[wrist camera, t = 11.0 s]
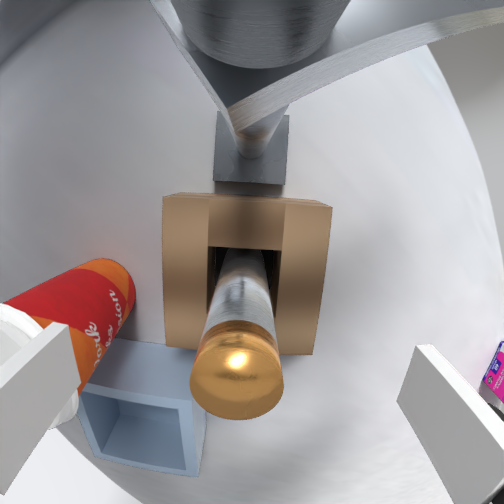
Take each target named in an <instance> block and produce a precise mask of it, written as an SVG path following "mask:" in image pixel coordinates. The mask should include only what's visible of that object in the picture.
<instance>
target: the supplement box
mask: <svg viewBox="0 0 504 504" xmlns="http://www.w3.org/2000/svg"><path fill="white" fill-rule="evenodd" d="M483 381H484V382H485V383H486V384H487V385H488V386H489V388H490V389H491V390H492V391H493V392H494V393H495V394H496V395H497V396H498V398H499V399H500V400H501V401H502V402H503V403H504V341H501V343H500V345H499V348H498V350H497V352H496V354H495V357H494V359H493V361H492V363H491V365H490V367H489V369H488V370H487V372H486V374H485V376H484V378H483Z"/></svg>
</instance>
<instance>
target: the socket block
mask: <svg viewBox="0 0 504 504" xmlns="http://www.w3.org/2000/svg"><path fill="white" fill-rule="evenodd" d="M332 208H333V207H331V206H328V205H326V204H323V203H320V202H318V201H315V200H304V199H291V198H278V197H264V196H248V195H230V194H209V193H182V192H181V193H177V194H173V195H169V196H165V197H163V211H162V269H163V301H164V321H165V337H166V347H174V348H184V349H194V350H198V347H199V343H200V340H201V336H202V333H203V329H204V326H205V322H206V319H207V315H208V312H209V309H210V305H211V302H212V298H213V295H214V292H215V288H216V287H215V257H216V247H231V248H248V249H265V250H274V257H273V268H272V280H271V290H269V294H270V300H271V307H272V313H273V319H274V325H275V332H276V338H277V344H278V351H279V355H312V353H313V347H314V342H315V336H316V330H317V324H318V318H319V312H320V305H321V298H322V292H323V284H324V277H325V270H326V262H327V254H328V245H329V237H330V228H331V218H332Z"/></svg>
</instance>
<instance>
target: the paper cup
mask: <svg viewBox="0 0 504 504" xmlns="http://www.w3.org/2000/svg"><path fill="white" fill-rule="evenodd" d="M135 298H136V292H135V286H134V283H133V280H132V278H131V276H130V275H129V273H128V272H127V271H126V269H125V268H124V267H122V266H121V265H120V264H119V263H117V262H115V261H113V260H110V259H104V258H101V259H95V260H92V261H89V262H87V263H85V264H82V265H80V266H78V267H76V268H73V269H71V270H69V271H67V272H65V273H63V274H60V275H58V276H56V277H54V278H52V279H50V280H48V281H46V282H44V283H42V284H40V285H38V286H36V287H34V288H32V289H30V290H28V291H26V292H24V293H22V294H20V295H18V296H16V297H14V298H12V299H10V300H8V301H6V302H4V303H0V367H1V366H2V365H3V364H4V363H5V362H6V361H8V360H9V359H10V358H11V357H12V356H13V355H14V354H16V353H17V352H18V351H19V350H20V349H21V348H22V347H24V346H25V345H26V344H27V343H28V342H30V341H31V340H32V339H33V338H34V337H35V336H37V335H38V334H39V333H40V332H41V331H43V330H44V329H45V328H46V327H47V326H49V325H50V324H51V323H52V322H56V323H61V324H66V325H68V326H69V332H70V337H71V342H72V346H73V351H74V355H75V360H76V364H77V368H78V372H79V376H80V380H81V384H80V385H79V386H78V388H77V389H76V391H75V392H74V393H73V395H72V396H71V397H70V399H69V400H68V401H67V403H66V404H65V406H64V407H63V408H62V410H61V411H60V412H59V414H58V415H57V417H56V418H55V419H54V421H53V422H52V424H51V425H50V427H49V428H48V429H47V430H50V429H53V428H55V427H57V426H58V425H59V424H61V423H64V422H67V421H69V420H71V419H72V418H73V417H74V415H75V414H76V412H77V409H78V404H79V398H78V397H79V396H80V394H81V392H82V390H83V389H84V387H85V385H86V383H87V382H88V380H89V378H90V377H91V375H92V373H93V372H94V370H95V368H96V367H97V365H98V363H99V362H100V360H101V358H102V357H103V355H104V354H105V352H106V350H107V349H108V347H109V345H110V344H111V342H112V341H113V339H114V337H115V336H116V334H117V333H118V331H119V330H120V328H121V326H122V325H123V323H124V322H125V320H126V318H127V317H128V315H129V313H130V312H131V310H132V308H133V306H134V303H135Z"/></svg>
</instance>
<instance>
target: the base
mask: <svg viewBox="0 0 504 504" xmlns="http://www.w3.org/2000/svg"><path fill="white" fill-rule="evenodd" d="M288 130H289V115H283V117H282V118H281V120H280V122H279V124H278V126H277V128H276V129H275V131H274V133H273V135H272V137H271V138H270V140H269V142H268V144H267V146H266V148H265V150H264V151H263V153H262V154H261V156H259V157H258V158H255V159H247V158H245V157H243V156H242V155H241V154H240V152H239V150H238V148H237V146H236V143H235V141H234V139H233V136H232V134H231V132H230V130H229V127H228V125H227V123H226V120H225V118H224V116H223V114H222V112H221V111H217V125H216V139H215V154H214V170H213V180H214V181H236V182H253V183H268V184H281V185H285V176H286V162H287V146H288Z"/></svg>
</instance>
